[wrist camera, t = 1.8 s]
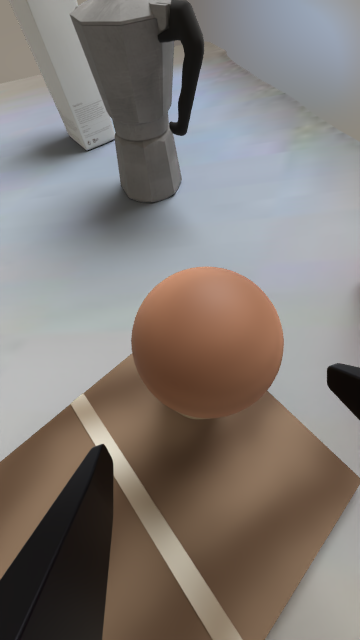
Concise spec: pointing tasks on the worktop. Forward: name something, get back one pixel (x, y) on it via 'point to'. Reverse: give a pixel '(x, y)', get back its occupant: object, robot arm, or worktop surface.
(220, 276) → the wooden pin
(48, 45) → the skincare box
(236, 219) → the worktop surface
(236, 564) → the walnut board
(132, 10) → the coffeepot
